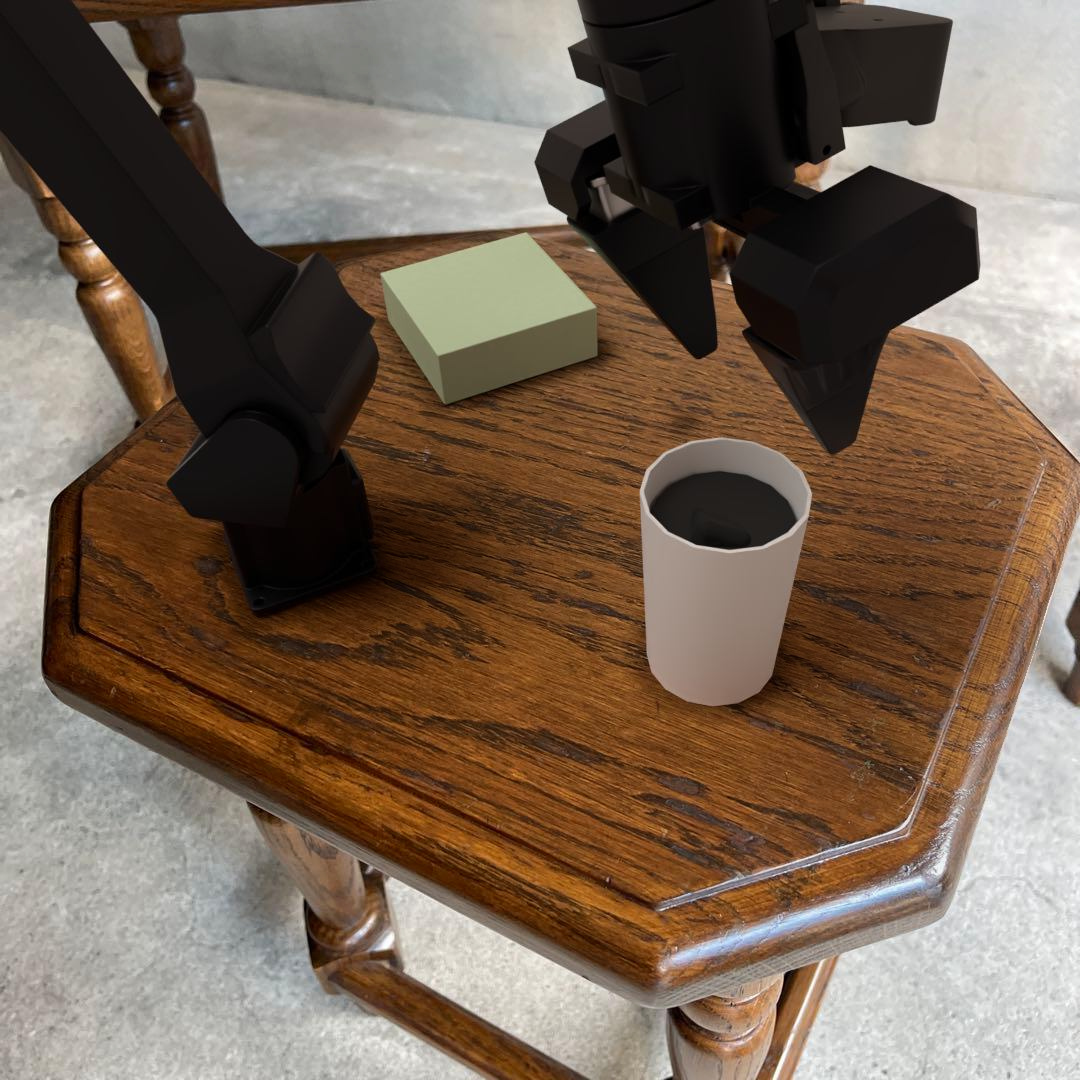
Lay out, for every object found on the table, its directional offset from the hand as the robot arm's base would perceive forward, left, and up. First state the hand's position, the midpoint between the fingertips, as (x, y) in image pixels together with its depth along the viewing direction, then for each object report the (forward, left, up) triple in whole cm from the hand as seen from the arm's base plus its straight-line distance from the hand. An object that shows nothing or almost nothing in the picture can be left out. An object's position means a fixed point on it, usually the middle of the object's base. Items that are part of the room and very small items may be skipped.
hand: (767, 396), depth 43 cm
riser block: (-2, +26, -13) cm, 29 cm away
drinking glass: (-3, -2, -13) cm, 13 cm away
